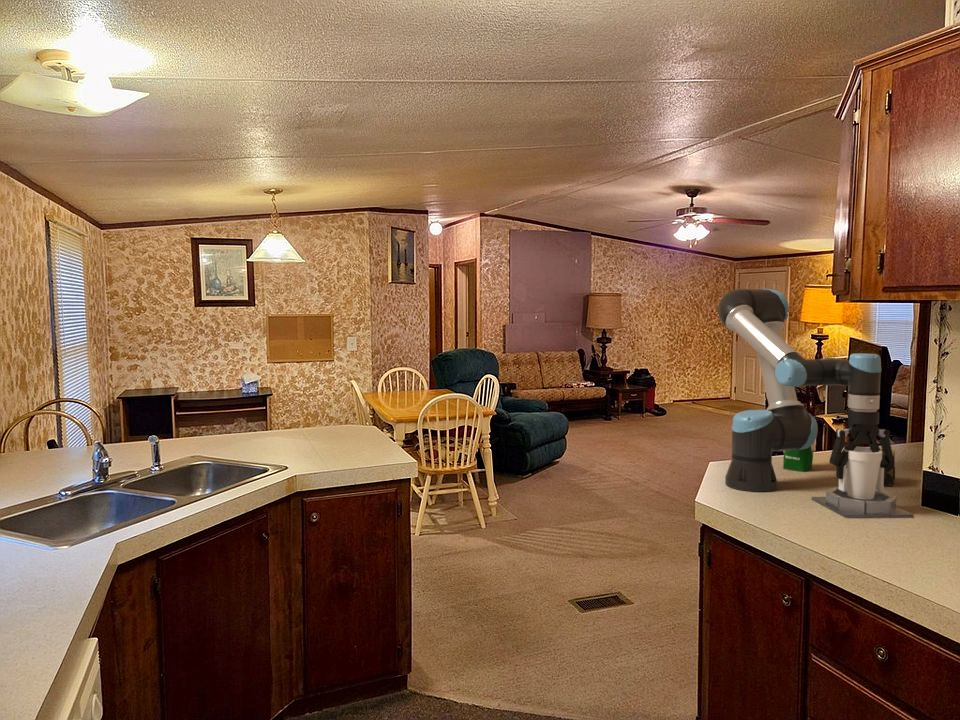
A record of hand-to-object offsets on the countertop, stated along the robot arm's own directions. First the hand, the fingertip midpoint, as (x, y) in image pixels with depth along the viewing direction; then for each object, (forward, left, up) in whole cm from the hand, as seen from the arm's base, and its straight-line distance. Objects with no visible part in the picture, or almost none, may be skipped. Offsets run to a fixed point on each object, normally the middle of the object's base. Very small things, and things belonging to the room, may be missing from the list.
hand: (860, 490), depth 188 cm
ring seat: (0, 0, -5) cm, 5 cm away
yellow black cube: (+22, +29, -5) cm, 37 cm away
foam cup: (0, 0, -2) cm, 2 cm away
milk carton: (+6, +48, -5) cm, 49 cm away
